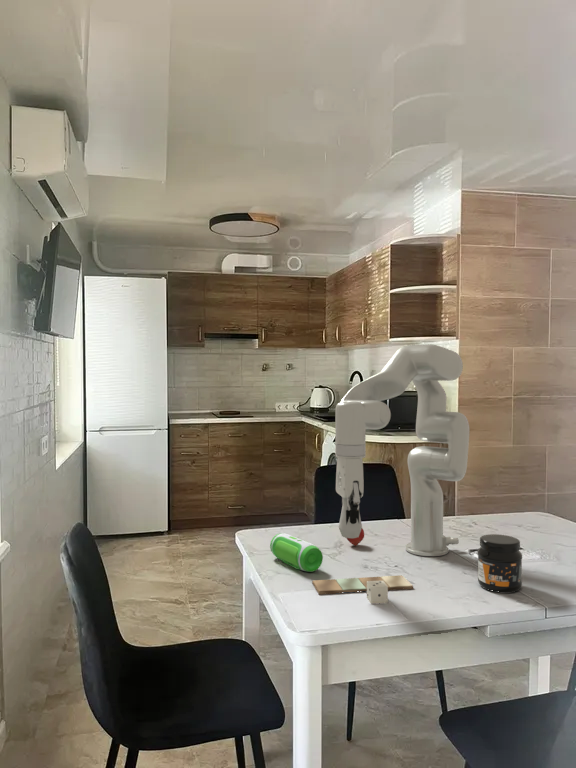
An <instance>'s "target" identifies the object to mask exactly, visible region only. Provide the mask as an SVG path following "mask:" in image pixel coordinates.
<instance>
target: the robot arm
mask: <svg viewBox="0 0 576 768" xmlns="http://www.w3.org/2000/svg"><path fill="white" fill-rule="evenodd" d="M463 365H464V363H463V360H462V358H461V356H460V354H459V353H458V352H456V351H454V350H451V349H449V348H446V347H444V346H440V345H437V344H432V343H431V344H412V345H411V344H408V345H403V346H400V348H399V347H398V349H397V350H396V351H395V352H394V353H393V355H392V356H391V357H390V359H389V360H388V361H387V363H386V364H385V365H384V366H383V367H382V369H381V370H380V371H379V372H378V373H376V374H374V375H371V376H370V377H368V378H366V379H365V380H363V381H361V382H359V383H358V384H356V385H354V386H352V388H350V389H349V390H348V391H347V393H345V395H344V396H343V398H342V399H341V401H340V402H338V403H337V404H336V405H335V413H334V414H335V415H334V416H335V423H334V424H335V428H334V429H335V437H334V438H335V445H334V447H335V448H334V449H335V450H334V451H335V453H334V454H335V458H337V459H336V472H335V492H336V493H337V494H338V495H339V496H341V506H342V505H343V500H344V499H346V498H347V510H346V525H347V522H348V519H349V517H350V523H351V524H355V523H356V522H357V520H358V523H359V513H360V503H361V498H362V497H364V479H365V478H364V463H363V459H364V458H366V454H367V453H366V446H367V445H366V430H381V429H383V428H385V427H387V426H388V425H389V422H390V420H391V417H392V413H391V409H390V407H389V406H388V405H387V404H386V403H385V402H384V401H385V400H391V399H393V398H396V397H398V396H400V395H402V394H403V393H404V392H405V391H406V390H407V388H408V387H409V385H410V384H411V382H412V383H413V384H414V387H415V389H416V392H417V406H416V407H417V409H416V410H417V411H416V419H415V435H416V437H417V438H418V439H419V440H420V441H423V442H427V443H439V444H447V445H448V447H439V446H427V445H423V446H416V447H414V448H412V449H411V450H410V451H409V452H408V454H407V468H408V472H409V473H408V474H409V479H410V480H409V481H410V542H408V543H406V545H405V550H406V551H407V553H410V554H412V555H415V556H420V557H421V556H422V557H441V556H444V555H447V554H448V553H449V546H450V545H459V543H460V541H459V538H458V537H451V536H446V535H444V492H443V489H442V487H441V484H440V482H439V481H438V480H440V481H448V482H459V481H461V480H463V478H465V476H466V473H467V469H468V459H469V458H468V456H469V447H470V445H469V443H470V431H471V430H470V423H469V420H468V417H466V415H465V414H464V413H462V412H459V411H447V393H446V391H445V389H444V387H443V386H442V384H441V383H440V382H441V381H444V382H445V381H454V380H455V381H456V380H457V379H458V378H460V377H461V375H462V373H463V371H464V370H463V369H464V366H463ZM439 381H440V382H439ZM350 495H353V497H350ZM350 500H353V501H351V503H350Z"/></svg>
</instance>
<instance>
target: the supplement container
mask: <svg viewBox="0 0 576 768" xmlns="http://www.w3.org/2000/svg"><path fill="white" fill-rule="evenodd" d="M479 546H480V547H479V548H478V550H477V556H478V558H477V563H478V564H477V566H478V567H477V568H478V569H477V573H478V576H477V582H478V585H480V586H481V587H482V588H483V587H484V588H483V589H485V588H486V590H487V589H489V590H488V591H490V590H493V591H492V592H494V591H499V592H498V593H500V592H512V593H515V592H514V591H516V592H518V591H519V590H521V588H522V586H523V581H522V580H523V579H522V578H523V577H522V576H523V574H522V573H523V570H522V568H523V566H522V565H523V564H522V562H523V561H522V560H523V553H522V552H521V551H520V550H521V541H520V540H519V539H518V538H517V537H515V536H511V535H506V534H497V533H495V534H492V533H491V534H485V535H481V536H480V537H479Z"/></svg>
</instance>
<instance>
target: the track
mask: <svg viewBox="0 0 576 768" xmlns="http://www.w3.org/2000/svg"><path fill="white" fill-rule="evenodd" d="M367 581H384V582H385V584H386V585H387V586H388V591H401V590H402V591H403V590H414V586H413V584H412V583H411V582H410V581H409V580H407V579H406V578H405V577H404V575H386V576H385V575H384V576H383V575H382V576H369V577H367V576H366V577H349V578H336V579H335V578H334V579H333V578H332V579H317V580H315V579H314V580H312V582H311V583H312V585H313V587H314V588H315V590H316V592H317V594H318V595H319V596H320V595H321V596H322V595H337V594H336V593H339V594H343V593H342V592H355V593H361V592H360V591H367ZM357 591H359V592H357Z"/></svg>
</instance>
